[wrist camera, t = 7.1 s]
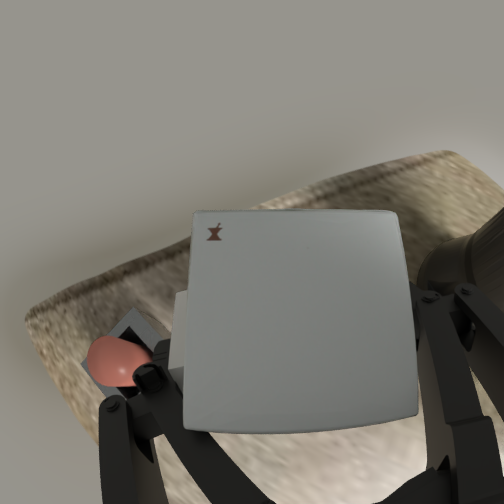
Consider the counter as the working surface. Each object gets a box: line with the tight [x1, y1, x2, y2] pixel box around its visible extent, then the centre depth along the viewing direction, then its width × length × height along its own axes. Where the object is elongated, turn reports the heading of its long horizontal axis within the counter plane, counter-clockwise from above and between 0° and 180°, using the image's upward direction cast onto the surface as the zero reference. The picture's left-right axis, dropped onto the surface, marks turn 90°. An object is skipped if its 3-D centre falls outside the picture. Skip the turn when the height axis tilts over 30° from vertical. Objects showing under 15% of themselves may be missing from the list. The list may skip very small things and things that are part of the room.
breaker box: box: [81, 307, 171, 400], centre depth 27 cm, size 8×7×8 cm
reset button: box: [87, 336, 153, 387], centre depth 23 cm, size 4×4×7 cm
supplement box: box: [183, 209, 418, 434], centre depth 14 cm, size 7×7×13 cm
